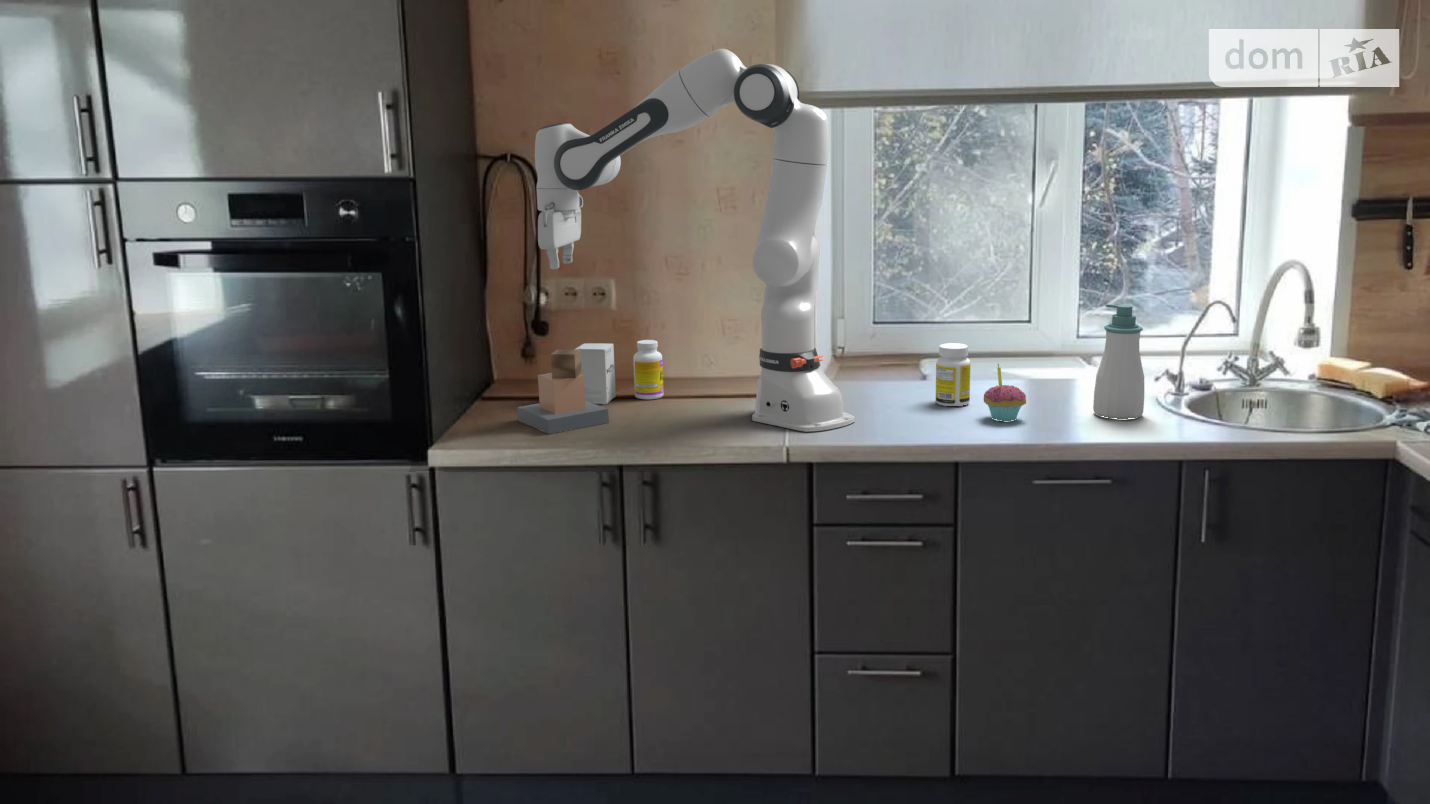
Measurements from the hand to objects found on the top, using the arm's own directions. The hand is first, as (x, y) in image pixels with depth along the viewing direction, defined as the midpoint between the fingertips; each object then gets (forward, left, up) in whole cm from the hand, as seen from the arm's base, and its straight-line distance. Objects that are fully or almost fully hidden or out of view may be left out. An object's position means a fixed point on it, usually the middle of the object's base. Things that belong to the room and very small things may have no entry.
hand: (561, 266), depth 248 cm
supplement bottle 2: (-54, -65, -31) cm, 90 cm away
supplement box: (0, -7, -31) cm, 32 cm away
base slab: (-12, +8, -31) cm, 34 cm away
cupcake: (-70, -63, -31) cm, 99 cm away
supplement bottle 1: (-5, -18, -31) cm, 36 cm away
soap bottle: (-83, -83, -31) cm, 121 cm away
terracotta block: (-12, +8, -28) cm, 32 cm away
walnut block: (-13, +7, -21) cm, 26 cm away
